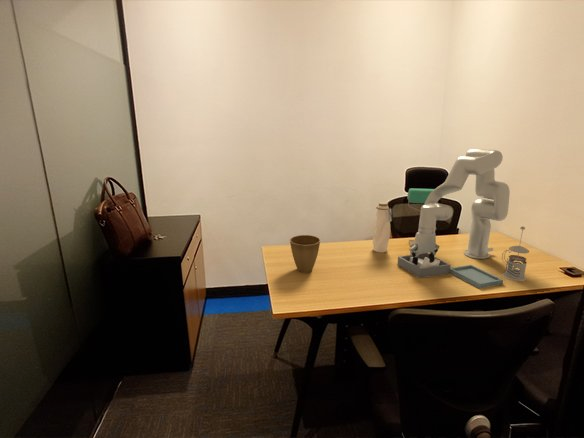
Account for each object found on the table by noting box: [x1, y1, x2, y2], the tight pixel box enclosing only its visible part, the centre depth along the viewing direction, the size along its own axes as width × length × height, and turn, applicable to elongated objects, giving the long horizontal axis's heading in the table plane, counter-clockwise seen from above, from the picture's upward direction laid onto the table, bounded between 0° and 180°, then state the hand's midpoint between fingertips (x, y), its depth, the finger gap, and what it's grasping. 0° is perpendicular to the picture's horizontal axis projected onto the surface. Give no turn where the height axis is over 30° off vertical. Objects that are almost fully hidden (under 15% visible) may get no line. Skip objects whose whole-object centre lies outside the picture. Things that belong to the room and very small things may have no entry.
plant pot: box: [289, 234, 321, 273], centre depth 171 cm, size 15×15×16 cm
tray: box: [449, 264, 504, 289], centre depth 163 cm, size 14×19×2 cm
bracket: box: [409, 257, 440, 268], centre depth 173 cm, size 13×7×8 cm, turn 13°
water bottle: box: [372, 201, 393, 253], centre depth 196 cm, size 10×9×28 cm
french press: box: [501, 226, 530, 282], centre depth 162 cm, size 10×12×25 cm
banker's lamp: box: [406, 187, 439, 254], centre depth 199 cm, size 16×21×35 cm
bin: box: [397, 253, 451, 279], centre depth 173 cm, size 18×18×4 cm
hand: (422, 262), depth 173 cm, fingers open, 9 cm apart
